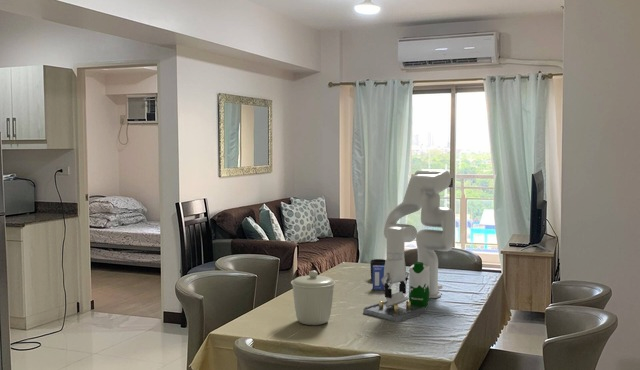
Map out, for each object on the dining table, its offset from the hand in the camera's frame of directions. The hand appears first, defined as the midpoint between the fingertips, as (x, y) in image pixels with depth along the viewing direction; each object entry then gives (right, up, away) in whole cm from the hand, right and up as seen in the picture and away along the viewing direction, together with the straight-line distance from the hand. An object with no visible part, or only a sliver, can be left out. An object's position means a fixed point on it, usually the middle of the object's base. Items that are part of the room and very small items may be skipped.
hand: (395, 295), depth 267 cm
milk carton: (+12, -7, +11) cm, 17 cm away
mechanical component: (+1, -4, -2) cm, 4 cm away
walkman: (-2, -5, +43) cm, 43 cm away
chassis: (0, -8, 0) cm, 8 cm away
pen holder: (-1, -3, +66) cm, 66 cm away
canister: (-35, -9, -13) cm, 38 cm away
